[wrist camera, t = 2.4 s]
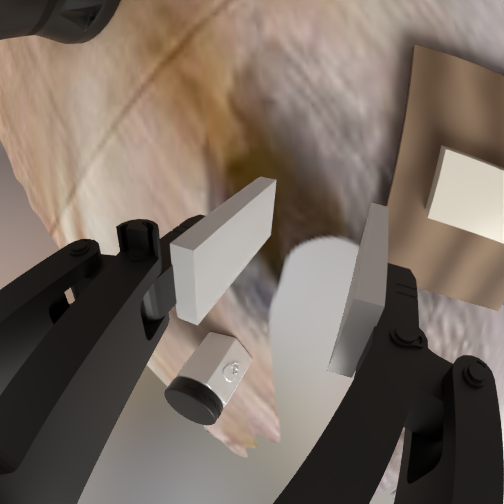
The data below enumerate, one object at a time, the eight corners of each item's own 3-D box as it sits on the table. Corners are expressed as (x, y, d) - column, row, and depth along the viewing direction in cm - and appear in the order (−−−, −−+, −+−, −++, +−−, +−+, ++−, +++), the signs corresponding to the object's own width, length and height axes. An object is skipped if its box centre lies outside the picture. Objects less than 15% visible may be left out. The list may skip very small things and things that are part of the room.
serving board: (369, 263, 31) (367, 273, 29) (412, 47, 19) (414, 44, 18) (494, 300, 26) (498, 311, 25) (557, 109, 15) (567, 110, 13)
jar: (262, 367, 46) (228, 428, 36) (225, 372, 51) (191, 426, 41) (229, 325, 44) (186, 386, 35) (194, 335, 49) (152, 387, 39)
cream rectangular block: (425, 209, 24) (427, 218, 23) (441, 145, 21) (445, 149, 19) (505, 236, 21) (511, 246, 20) (524, 177, 18) (533, 184, 17)
